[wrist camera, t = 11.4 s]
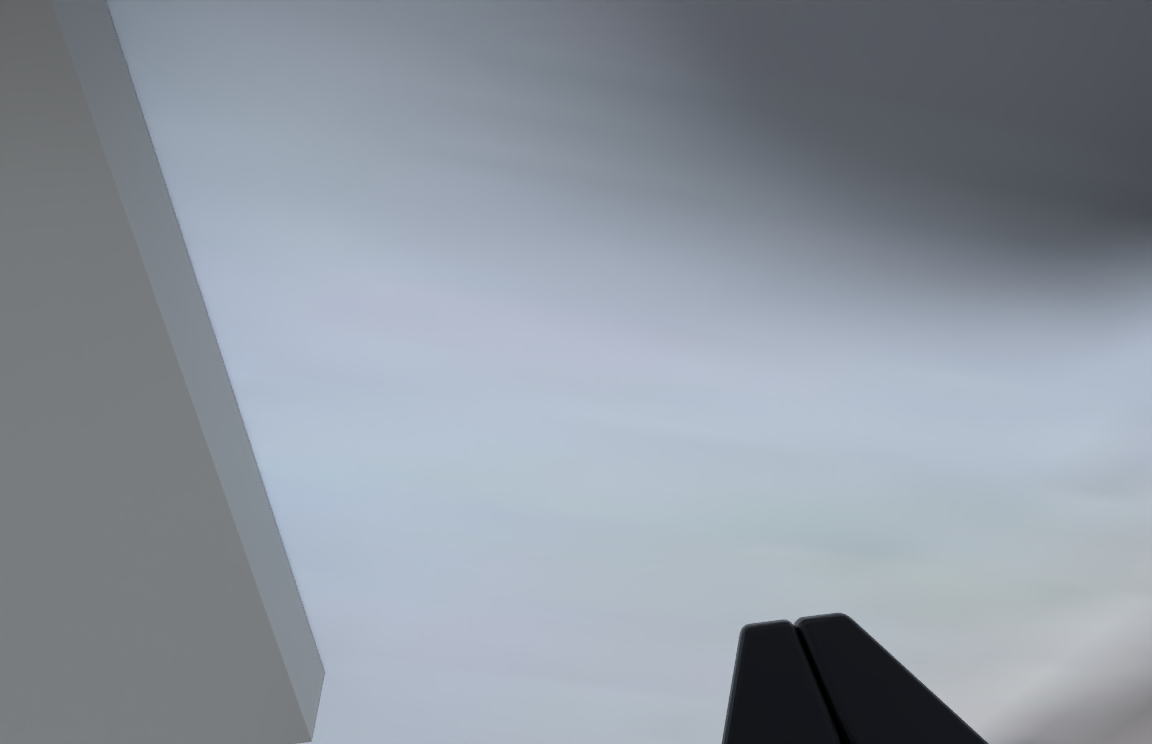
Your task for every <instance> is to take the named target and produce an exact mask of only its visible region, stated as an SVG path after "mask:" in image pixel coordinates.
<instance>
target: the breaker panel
mask: <svg viewBox="0 0 1152 744" xmlns="http://www.w3.org/2000/svg"><path fill="white" fill-rule="evenodd" d="M324 675H325V671H324V668H323V665H322V662H321V659H320V656H319V653H318V650H317V647H316V644H315V641H314V638H313V635H312V631H311V628H310V625H309V622H308V619H307V616H306V613H305V610H304V607H303V604H302V601H301V598H300V595H299V592H298V589H297V585H296V582H295V579H294V576H293V573H292V570H291V567H290V564H289V561H288V558H287V555H286V552H285V549H284V546H283V543H282V539H281V536H280V533H279V530H278V527H277V524H276V521H275V518H274V515H273V512H272V509H271V506H270V503H269V500H268V497H267V494H266V490H265V487H264V484H263V481H262V478H261V475H260V472H259V469H258V466H257V463H256V460H255V457H254V454H253V451H252V448H251V444H250V441H249V438H248V435H247V432H246V429H245V426H244V423H243V420H242V417H241V414H240V411H239V408H238V405H237V402H236V398H235V395H234V392H233V389H232V386H231V383H230V380H229V377H228V374H227V371H226V368H225V365H224V362H223V359H222V356H221V352H220V349H219V346H218V343H217V340H216V337H215V334H214V331H213V328H212V325H211V322H210V319H209V316H208V313H207V310H206V307H205V303H204V300H203V297H202V294H201V291H200V288H199V285H198V282H197V279H196V276H195V273H194V270H193V267H192V264H191V261H190V257H189V254H188V251H187V248H186V245H185V242H184V239H183V236H182V233H181V230H180V227H179V224H178V221H177V218H176V215H175V211H174V208H173V205H172V202H171V199H170V196H169V193H168V190H167V187H166V184H165V181H164V178H163V175H162V172H161V169H160V165H159V162H158V159H157V156H156V153H155V150H154V147H153V144H152V141H151V138H150V135H149V132H148V129H147V126H146V123H145V120H144V116H143V113H142V110H141V107H140V104H139V101H138V98H137V95H136V92H135V89H134V86H133V83H132V80H131V77H130V74H129V70H128V67H127V64H126V61H125V58H124V55H123V52H122V49H121V46H120V43H119V40H118V37H117V34H116V31H115V28H114V24H113V21H112V18H111V15H110V12H109V9H108V6H107V3H106V0H0V744H296V743H304V742H312V738H313V733H314V727H315V722H316V717H317V712H318V706H319V701H320V696H321V691H322V685H323V680H324Z"/></svg>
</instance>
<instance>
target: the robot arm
mask: <svg viewBox="0 0 1152 744" xmlns="http://www.w3.org/2000/svg"><path fill="white" fill-rule="evenodd" d="M722 744H988V743H987V742H986V741H985V740H984V739H983V738H982V737H981V736H980V735H978V734H977V733H976V732H975V731H974V730H973V729H972V728H971V727H970V726H969V725H968V724H966V723H965V722H964V721H963V720H962V719H961V718H960V717H959V716H958V715H957V714H955V713H954V712H953V711H952V710H951V709H950V708H949V707H948V706H947V705H946V704H945V703H943V702H942V701H941V700H940V699H939V698H938V697H937V696H936V695H935V694H934V693H933V692H931V691H930V690H929V689H928V688H927V687H926V686H925V685H924V684H923V683H922V682H921V681H919V680H918V679H917V678H916V677H915V676H914V675H913V674H912V673H911V672H910V671H908V670H907V669H906V668H905V667H904V666H903V665H902V664H901V663H900V662H899V661H898V660H896V659H895V658H894V657H893V656H892V655H891V654H890V653H889V652H888V651H887V650H886V649H884V648H883V647H882V646H881V645H880V644H879V643H878V642H877V641H876V640H875V639H874V638H872V637H871V636H870V635H869V634H868V633H867V632H866V631H865V630H864V629H863V628H861V627H860V626H859V625H858V624H857V623H856V622H855V621H854V620H853V619H852V618H850V617H849V616H847V615H845V614H842V613H832V614H824V615H816V616H808V617H801V618H799V619H798V620H797V621H795V623H794V625H793V624H792V623H791V622H790V621H788V620H776V621H768V622H761V623H753V624H747V625H745V626H744V627H743V628H742V629H741V632H740V636H739V642H738V648H737V654H736V660H735V666H734V672H733V678H732V684H731V690H730V696H729V703H728V709H727V715H726V721H725V727H724V733H723V739H722Z"/></svg>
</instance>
